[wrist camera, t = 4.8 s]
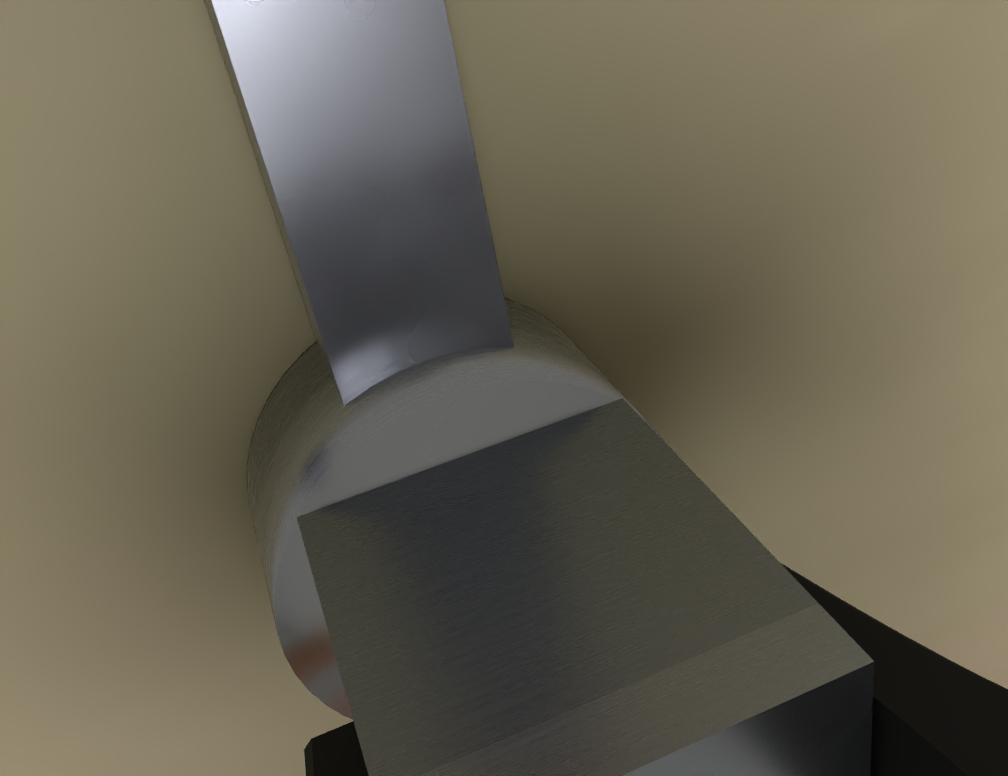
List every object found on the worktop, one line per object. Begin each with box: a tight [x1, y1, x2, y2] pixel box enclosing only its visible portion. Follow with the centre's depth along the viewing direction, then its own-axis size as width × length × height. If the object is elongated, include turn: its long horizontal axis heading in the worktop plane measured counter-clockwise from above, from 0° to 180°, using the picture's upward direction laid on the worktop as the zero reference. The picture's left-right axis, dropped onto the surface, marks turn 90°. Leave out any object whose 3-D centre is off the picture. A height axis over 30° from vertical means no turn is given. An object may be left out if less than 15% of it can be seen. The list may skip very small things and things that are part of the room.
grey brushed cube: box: [296, 398, 874, 776], centre depth 11 cm, size 4×4×5 cm
